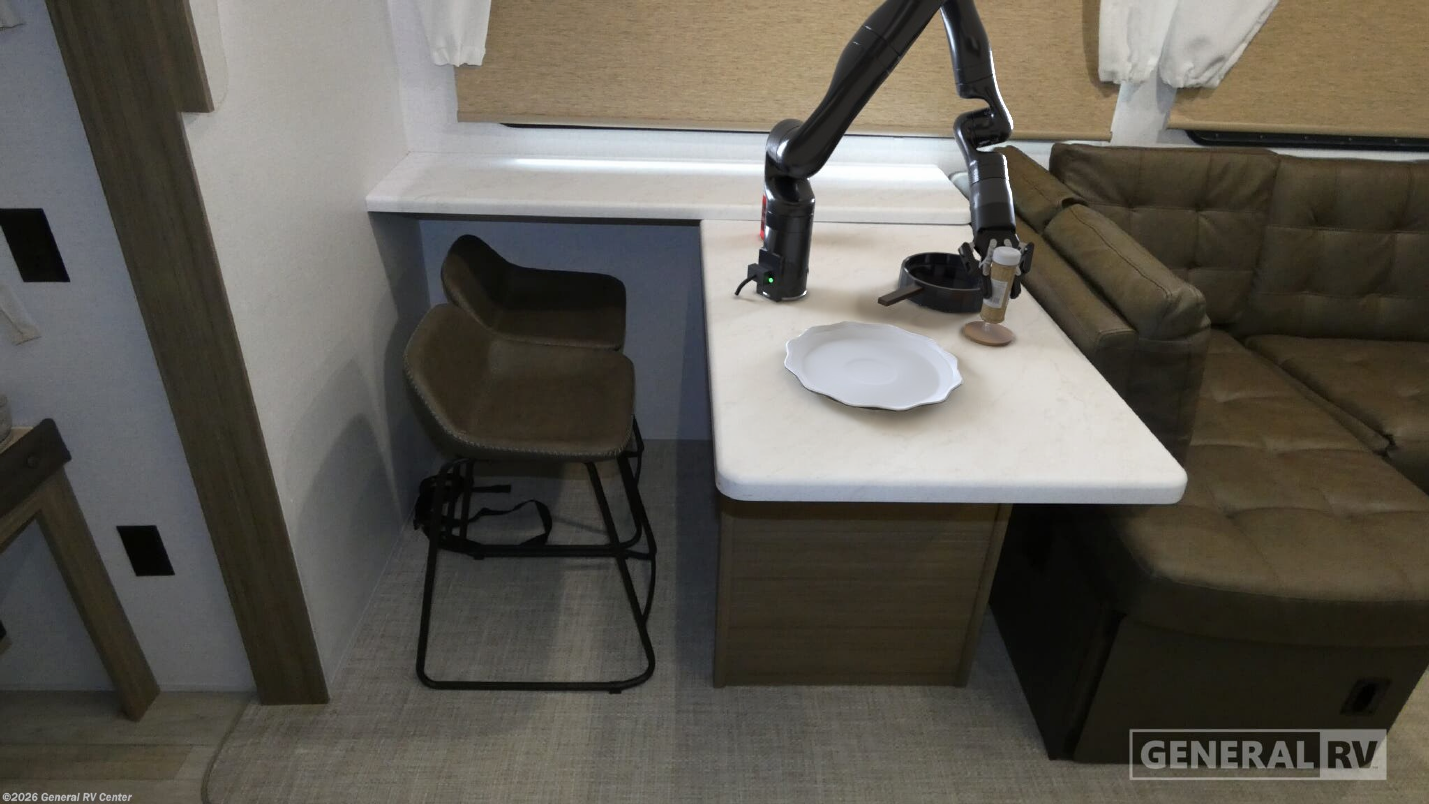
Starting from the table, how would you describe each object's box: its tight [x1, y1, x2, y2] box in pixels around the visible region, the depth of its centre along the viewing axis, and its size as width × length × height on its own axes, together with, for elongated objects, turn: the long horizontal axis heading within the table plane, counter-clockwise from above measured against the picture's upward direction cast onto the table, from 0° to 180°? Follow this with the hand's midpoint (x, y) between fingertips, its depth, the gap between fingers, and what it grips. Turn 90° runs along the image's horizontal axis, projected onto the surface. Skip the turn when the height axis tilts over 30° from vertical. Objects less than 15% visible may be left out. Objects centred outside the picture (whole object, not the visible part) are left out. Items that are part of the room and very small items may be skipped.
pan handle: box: [876, 283, 923, 308], centre depth 159 cm, size 11×2×1 cm, turn 131°
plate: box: [783, 320, 964, 412], centre depth 140 cm, size 29×29×2 cm
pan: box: [897, 251, 991, 314], centre depth 169 cm, size 19×19×5 cm
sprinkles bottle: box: [978, 247, 1021, 324], centre depth 150 cm, size 5×5×14 cm
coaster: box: [962, 320, 1014, 347], centre depth 155 cm, size 9×9×1 cm
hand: (1001, 297), depth 149 cm, fingers closed on sprinkles bottle, 4 cm apart
